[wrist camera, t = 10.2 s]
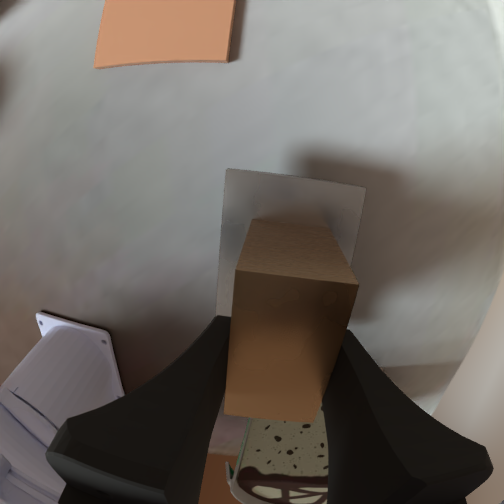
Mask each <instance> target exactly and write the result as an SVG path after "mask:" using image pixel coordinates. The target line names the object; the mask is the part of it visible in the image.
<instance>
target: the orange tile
mask: <svg viewBox="0 0 504 504" xmlns="http://www.w3.org/2000/svg"><path fill="white" fill-rule="evenodd" d="M235 7H236V0H105V5H104V9H103V14H102V19H101V24H100V29H99V35H98V40H97V47H96V53H95V60H94V68H96V69H105V68H113V67H121V66H131V65H143V64H158V63H185V62H210V63H228V60H229V52H230V44H231V36H232V29H233V21H234V14H235Z"/></svg>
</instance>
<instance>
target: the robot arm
mask: <svg viewBox="0 0 504 504" xmlns="http://www.w3.org/2000/svg"><path fill="white" fill-rule="evenodd" d="M36 318H37V321H38V325H39V328H40V331H41V334H42V339H41V340H40V341H39V342H38V343H37V344H36V345H35V346H34V347H33V349H32V350H31V351H30V352H29V353H28V354H27V355H26V357H25V358H24V359H23V360H22V361H21V362H20V364H19V365H18V366H17V367H16V368H15V370H14V371H13V372H12V373H11V374H10V376H9V377H8V378H7V379H6V380H5V382H4V383H3V384H2V385H1V387H0V504H198V501H199V495H200V490H201V484H202V479H203V473H204V468H205V463H206V457H207V453H208V447H209V442H210V439H211V435H212V431H213V428H214V425H215V421H216V418H217V415H218V412H219V409H220V405H221V402H222V399H223V396H224V392H225V389H226V377H227V363H228V350H229V338H230V325H231V317H229V316H222V315H217V316H216V317H214V319H213V320H212V321H211V323H210V324H209V325H208V327H207V328H206V329H205V330H204V331H203V332H202V334H201V335H200V336H199V337H198V338H197V339H196V340H195V341H194V342H193V343H192V344H191V345H190V347H189V348H188V349H187V350H186V351H185V352H183V353H182V354H181V355H180V356H179V357H178V358H177V359H176V360H175V361H174V362H172V363H171V364H170V365H169V366H168V367H166V368H165V369H164V370H163V371H161V372H160V373H159V374H157V375H156V376H155V377H153V378H152V379H150V380H149V381H147V382H146V383H144V384H143V385H141V386H140V387H138V388H137V389H135V390H133V391H131V392H130V393H128V394H126V395H125V394H124V390H123V387H122V383H121V379H120V376H119V372H118V368H117V364H116V360H115V355H114V351H113V347H112V342H111V338H110V334H109V333H108V332H107V331H105V330H102V329H98V328H94V327H91V326H87V325H83V324H80V323H76V322H73V321H69V320H66V319H62V318H59V317H56V316H53V315H49V314H46V313H43V312H38V313H37V314H36ZM322 406H323V413H324V420H325V427H326V435H327V442H328V491H327V504H467V502H466V499H465V497H466V496H467V495H469V494H470V493H471V492H472V491H474V490H475V489H476V488H478V487H479V486H480V485H481V484H482V483H484V482H485V481H486V480H487V479H488V478H489V477H490V475H491V474H492V472H493V465H492V463H491V460H490V457H489V455H488V452H487V450H486V448H485V447H484V446H483V445H480V444H478V443H476V442H474V441H472V440H470V439H467V438H465V437H463V436H461V435H460V434H458V433H456V432H454V431H453V430H451V429H449V428H448V427H446V426H445V425H443V424H442V423H440V422H439V421H437V420H436V419H434V418H433V417H432V416H430V415H429V414H428V413H426V412H425V411H424V410H422V409H421V408H420V407H419V406H417V405H416V404H415V403H414V402H413V401H412V400H411V399H409V398H408V397H407V396H406V395H405V394H404V393H403V392H402V391H401V390H400V389H399V388H398V387H397V386H396V385H395V384H394V383H393V382H392V381H391V380H390V379H389V378H388V377H387V376H386V374H385V373H384V372H383V371H382V370H381V369H380V367H379V366H378V365H377V364H376V363H375V361H374V360H373V359H372V358H371V356H370V355H369V354H368V353H367V351H366V350H365V349H364V348H363V346H362V345H361V344H360V342H359V341H358V340H357V339H356V337H355V336H354V335H353V333H352V332H351V331H350V330H347V329H346V332H345V336H344V339H343V342H342V345H341V348H340V351H339V354H338V357H337V360H336V363H335V366H334V369H333V372H332V375H331V377H330V380H329V383H328V386H327V389H326V391H325V394H324V397H323V399H322ZM500 504H504V500H503V501H502V502H501V503H500Z"/></svg>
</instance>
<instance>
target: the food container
mask: <svg viewBox="0 0 504 504" xmlns="http://www.w3.org/2000/svg"><path fill="white" fill-rule="evenodd" d="M380 369H381V370H382V371H383V369H382V367H380ZM383 372H384V371H383ZM225 463H226V474H227V482H228V484H229V485H230V487H231V489H230V491H231V493H232V495H233V496H234V497H235V498H236V499H237V500H239V501H240V502H241V503H243V504H327V491H328V442H327V435H326V427H325V420H324V413H323V406H322V402H321V404H320V407H319V410H318V412H317V415H316V417H315V420H314V422H313V423H309V422H292V421H279V420H268V419H259V418H250V417H249V420H248V424H247V427H246V431H245V435H244V439H243V442H242V446H241V450H240V453H239V457H238V460H237V464H236V468H235V471H234V470H233V469H232V468H231V466H230V465H229V462H225Z"/></svg>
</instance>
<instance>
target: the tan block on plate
mask: <svg viewBox="0 0 504 504" xmlns="http://www.w3.org/2000/svg"><path fill="white" fill-rule="evenodd" d="M365 193H366V188H364V187H362V186H356V185H351V184H345V183H339V182H333V181H326V180H320V179H313V178H306V177H299V176H292V175H284V174H276V173H268V172H259V171H250V170H240V169H230V168H228V169H226V175H225V187H224V199H223V211H222V224H221V238H220V252H219V267H218V284H217V301H216V316H217V315H222V316H229V317H231V325H230V338H229V350H228V363H227V377H226V390H225V404H224V414H228V415H235V416H242V417H250V418H259V419H268V420H279V421H292V422H309V423H313V422H314V420H315V417H316V415H317V412H318V410H319V407H320V404H321V402H322V399H323V397H324V394H325V391H326V389H327V386H328V383H329V380H330V377H331V375H332V372H333V369H334V366H335V363H336V360H337V357H338V354H339V351H340V348H341V345H342V342H343V339H344V336H345V332H346V329H347V326H348V322H349V319H350V316H351V312H352V309H353V305H354V302H355V298H356V294H357V291H358V287H359V283H358V281H357V279H356V277H355V275H354V273H353V271H352V270H351V268H350V267H351V263H352V258H353V254H354V249H355V245H356V240H357V235H358V230H359V225H360V220H361V215H362V210H363V204H364V199H365Z"/></svg>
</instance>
